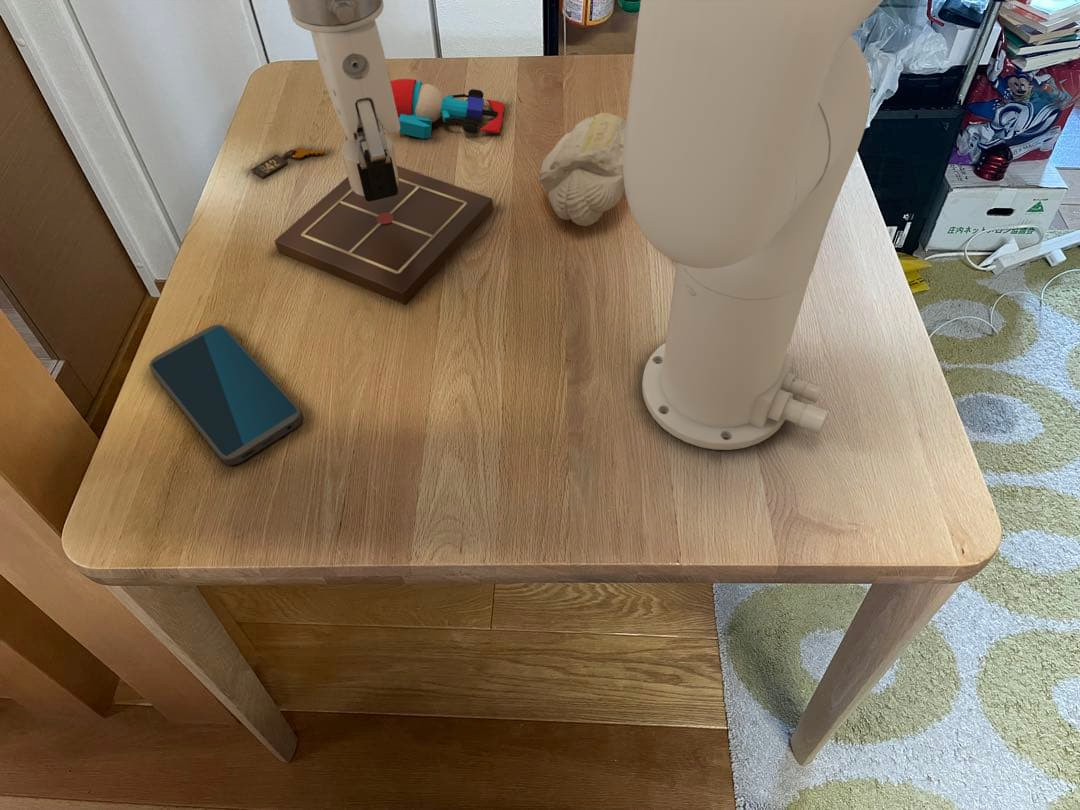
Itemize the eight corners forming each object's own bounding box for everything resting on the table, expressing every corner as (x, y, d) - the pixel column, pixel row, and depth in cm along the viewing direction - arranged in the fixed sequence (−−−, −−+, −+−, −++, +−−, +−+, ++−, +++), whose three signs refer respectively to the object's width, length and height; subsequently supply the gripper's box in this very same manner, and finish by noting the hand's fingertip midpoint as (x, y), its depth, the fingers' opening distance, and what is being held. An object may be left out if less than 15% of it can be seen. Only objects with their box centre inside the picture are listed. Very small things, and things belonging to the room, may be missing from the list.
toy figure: (503, 113, 101) (380, 95, 99) (507, 78, 97) (379, 58, 95) (498, 154, 96) (370, 135, 95) (502, 119, 92) (368, 99, 91)
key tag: (258, 179, 91) (256, 175, 91) (248, 166, 93) (246, 162, 92) (325, 153, 94) (324, 149, 93) (314, 141, 95) (313, 136, 95)
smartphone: (228, 470, 67) (225, 464, 66) (148, 368, 74) (143, 361, 73) (308, 420, 70) (305, 413, 69) (223, 326, 77) (220, 319, 76)
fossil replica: (546, 243, 84) (641, 237, 85) (552, 178, 77) (656, 173, 78) (529, 164, 90) (618, 160, 92) (533, 98, 83) (629, 95, 85)
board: (493, 209, 87) (492, 197, 86) (405, 304, 78) (402, 292, 77) (373, 167, 92) (370, 155, 91) (278, 252, 84) (273, 239, 83)
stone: (408, 175, 81) (402, 140, 78) (379, 202, 79) (371, 167, 75) (370, 161, 83) (362, 126, 80) (340, 188, 80) (330, 153, 77)
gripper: (405, 32, 62) (435, 223, 76) (357, -59, 72) (392, 125, 86) (306, 52, 60) (356, 243, 75) (271, -44, 70) (321, 141, 85)
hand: (374, 178), depth 80 cm, fingers closed on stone, 4 cm apart
